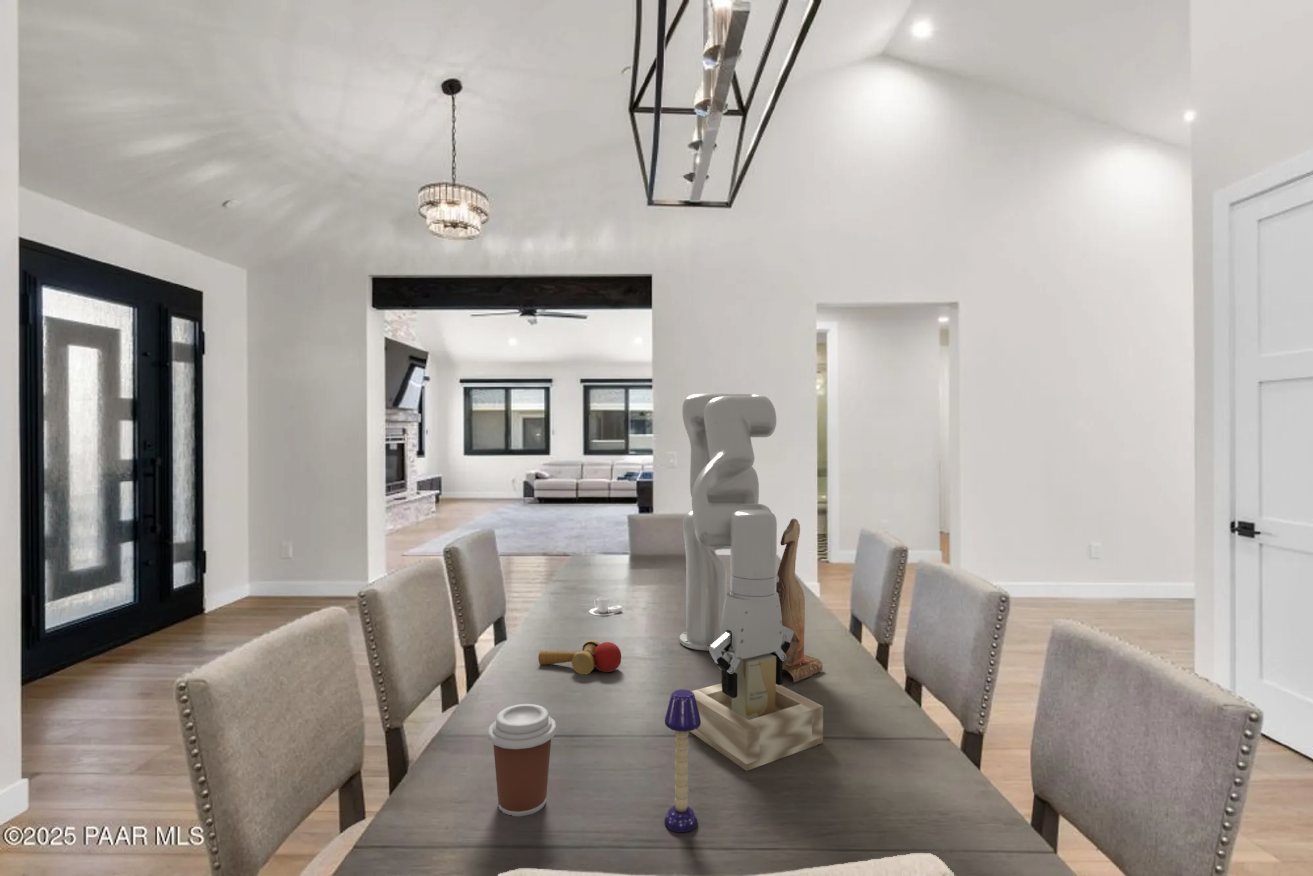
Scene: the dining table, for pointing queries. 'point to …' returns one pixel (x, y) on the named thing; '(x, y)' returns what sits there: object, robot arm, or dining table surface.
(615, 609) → the teacup and saucer
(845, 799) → the dining table surface
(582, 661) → the kendama
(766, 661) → the skincare box
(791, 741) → the holder
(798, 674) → the bird sculpture
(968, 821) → the dining table surface
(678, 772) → the toy lamp
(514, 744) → the coffee cup
